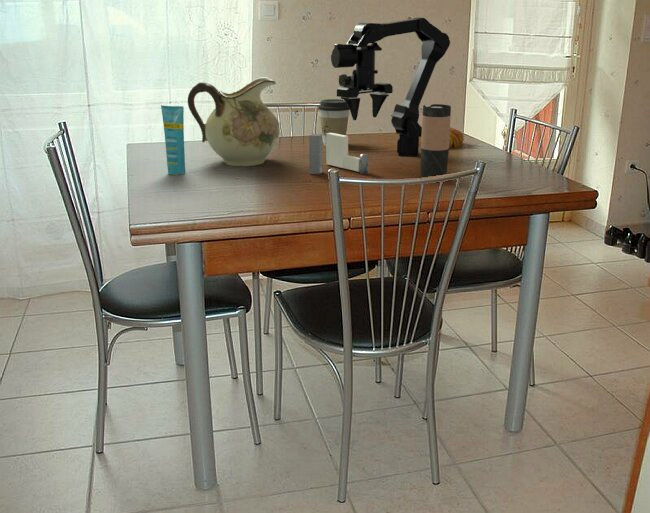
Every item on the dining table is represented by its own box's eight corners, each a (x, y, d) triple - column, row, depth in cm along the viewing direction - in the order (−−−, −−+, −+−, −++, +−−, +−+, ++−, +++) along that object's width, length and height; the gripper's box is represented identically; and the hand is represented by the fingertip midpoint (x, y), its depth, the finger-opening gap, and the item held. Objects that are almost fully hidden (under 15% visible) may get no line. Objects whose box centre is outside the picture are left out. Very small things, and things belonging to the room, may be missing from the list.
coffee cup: (311, 146, 247) (311, 101, 242) (328, 141, 256) (328, 97, 251) (339, 149, 241) (340, 103, 237) (356, 144, 251) (357, 100, 246)
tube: (161, 174, 207) (156, 106, 201) (169, 170, 211) (164, 103, 205) (184, 176, 205) (180, 107, 198) (192, 172, 209) (188, 105, 203)
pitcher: (295, 161, 223) (293, 78, 214) (237, 174, 206) (232, 85, 198) (247, 152, 237) (243, 74, 229) (189, 164, 221) (182, 80, 213)
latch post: (322, 172, 209) (322, 134, 206) (319, 174, 206) (319, 135, 203) (312, 171, 210) (312, 133, 206) (309, 173, 207) (309, 135, 204)
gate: (363, 170, 209) (363, 139, 206) (357, 171, 208) (358, 139, 205) (331, 163, 219) (331, 132, 216) (326, 163, 218) (326, 133, 215)
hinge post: (368, 172, 209) (368, 153, 207) (368, 174, 206) (368, 155, 204) (360, 172, 209) (360, 153, 207) (359, 174, 206) (359, 155, 205)
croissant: (418, 154, 244) (418, 132, 241) (423, 140, 258) (423, 118, 254) (462, 155, 241) (463, 132, 238) (464, 140, 255) (465, 118, 251)
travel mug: (446, 182, 197) (450, 108, 190) (418, 181, 199) (421, 107, 192) (447, 176, 204) (451, 104, 198) (420, 175, 206) (423, 103, 199)
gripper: (369, 63, 229) (368, 112, 235) (324, 66, 218) (324, 118, 223) (394, 65, 221) (393, 116, 227) (349, 69, 210) (349, 123, 215)
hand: (364, 118), depth 223 cm, fingers open, 8 cm apart
